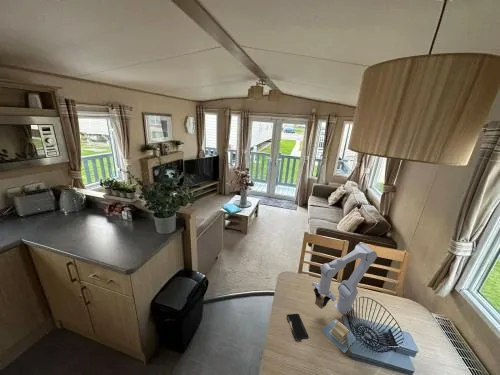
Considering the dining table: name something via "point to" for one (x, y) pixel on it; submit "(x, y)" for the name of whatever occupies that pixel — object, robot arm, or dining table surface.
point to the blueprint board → (332, 337)
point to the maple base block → (340, 331)
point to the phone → (297, 327)
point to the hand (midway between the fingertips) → (321, 302)
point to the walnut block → (319, 301)
